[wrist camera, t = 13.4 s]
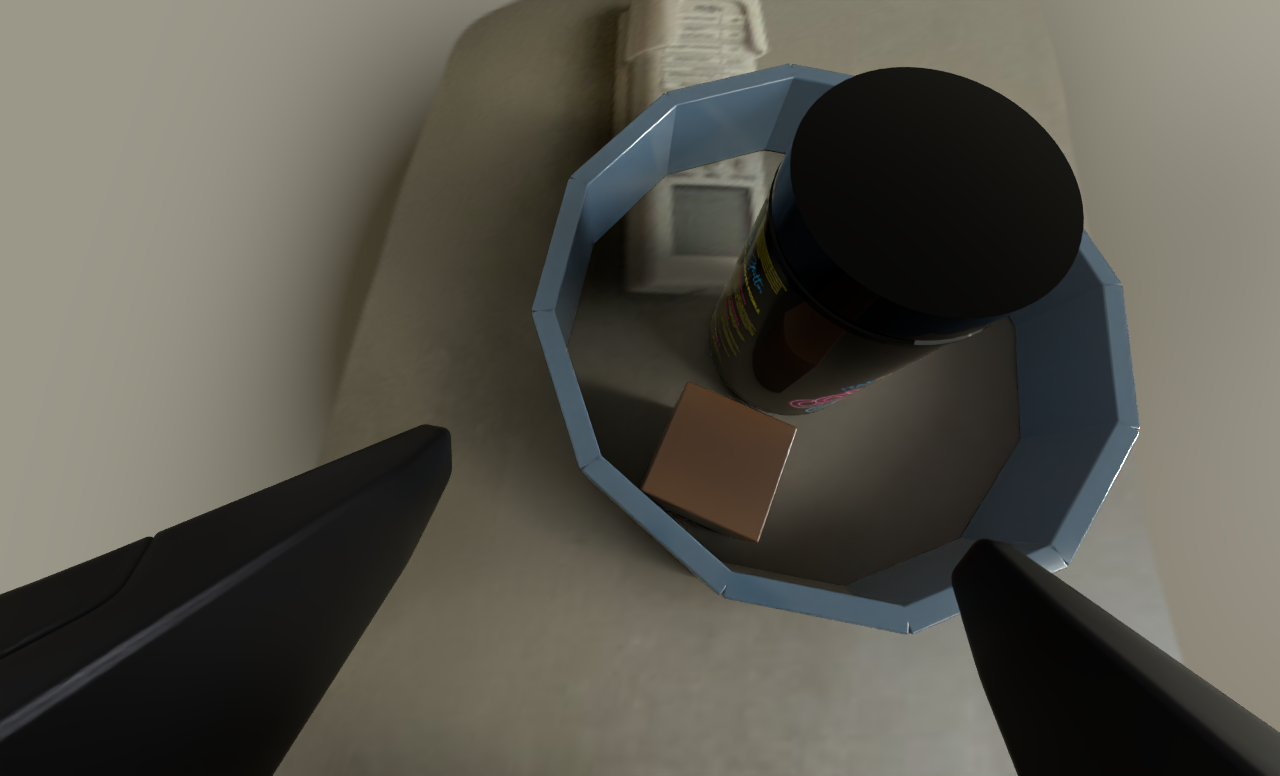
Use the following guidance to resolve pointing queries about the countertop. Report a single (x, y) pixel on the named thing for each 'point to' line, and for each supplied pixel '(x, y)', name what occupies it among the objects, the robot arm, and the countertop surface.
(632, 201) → the blue polygonal ring
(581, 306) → the countertop surface
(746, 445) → the walnut block
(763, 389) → the supplement container
